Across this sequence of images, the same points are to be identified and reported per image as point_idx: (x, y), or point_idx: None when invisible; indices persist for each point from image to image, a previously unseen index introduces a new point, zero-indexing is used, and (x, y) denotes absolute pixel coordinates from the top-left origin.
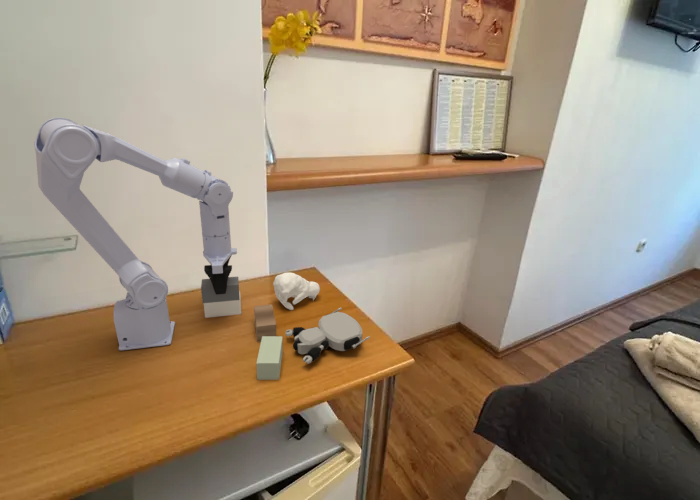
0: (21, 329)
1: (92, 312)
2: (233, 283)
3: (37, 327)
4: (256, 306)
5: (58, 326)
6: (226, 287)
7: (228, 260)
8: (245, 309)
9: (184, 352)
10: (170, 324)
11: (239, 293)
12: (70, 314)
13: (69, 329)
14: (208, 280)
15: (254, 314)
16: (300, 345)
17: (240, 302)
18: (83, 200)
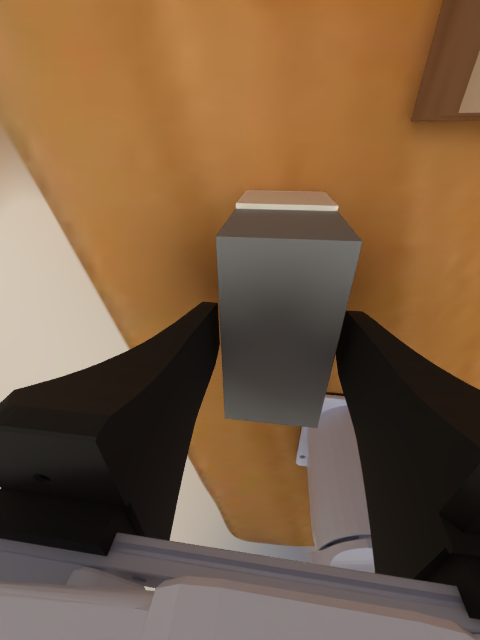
0: (252, 538)
1: (218, 492)
2: (326, 278)
3: (251, 530)
4: (473, 91)
5: (255, 517)
6: (384, 329)
7: (151, 388)
8: (290, 168)
9: (473, 376)
10: (323, 405)
11: (260, 207)
12: (220, 509)
13: (269, 510)
14: (243, 397)
15: (429, 118)
16: None
17: (334, 203)
18: None
